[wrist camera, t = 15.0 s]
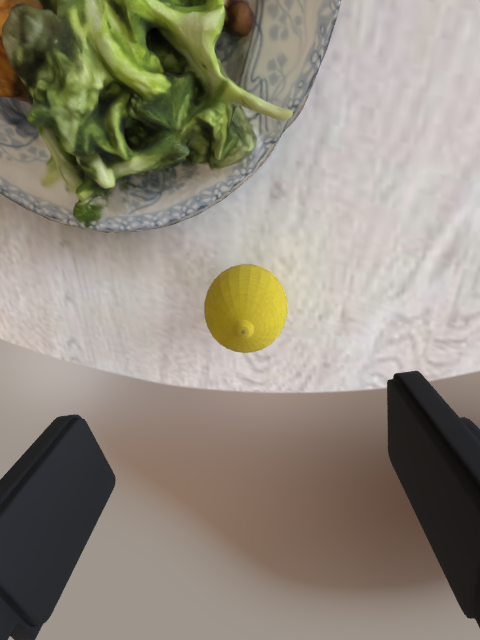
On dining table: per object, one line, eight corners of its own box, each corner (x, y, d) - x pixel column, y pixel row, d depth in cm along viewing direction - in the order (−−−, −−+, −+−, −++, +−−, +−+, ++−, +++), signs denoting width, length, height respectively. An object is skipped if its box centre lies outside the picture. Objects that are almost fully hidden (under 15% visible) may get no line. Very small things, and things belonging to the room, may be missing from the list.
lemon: (276, 324, 24) (284, 380, 17) (211, 316, 25) (190, 368, 17) (288, 259, 22) (303, 291, 15) (216, 250, 22) (195, 277, 15)
